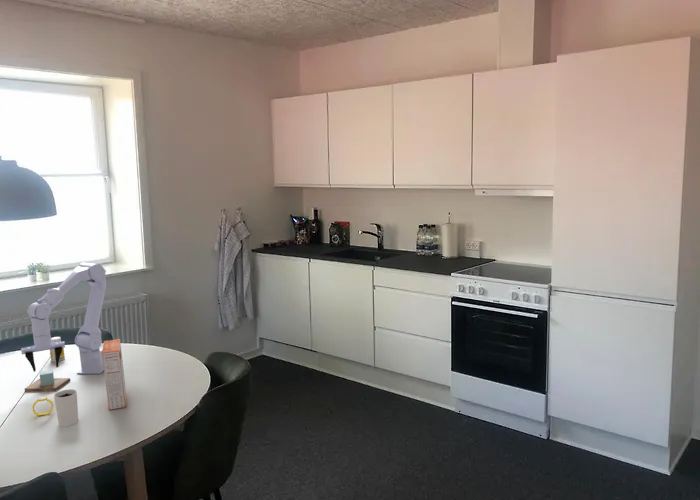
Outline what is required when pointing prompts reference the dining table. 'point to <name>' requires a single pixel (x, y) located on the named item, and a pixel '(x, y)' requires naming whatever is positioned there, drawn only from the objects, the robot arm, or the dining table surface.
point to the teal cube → (46, 377)
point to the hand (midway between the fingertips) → (46, 368)
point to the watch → (40, 401)
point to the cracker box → (114, 374)
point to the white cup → (66, 407)
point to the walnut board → (53, 387)
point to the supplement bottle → (52, 351)
